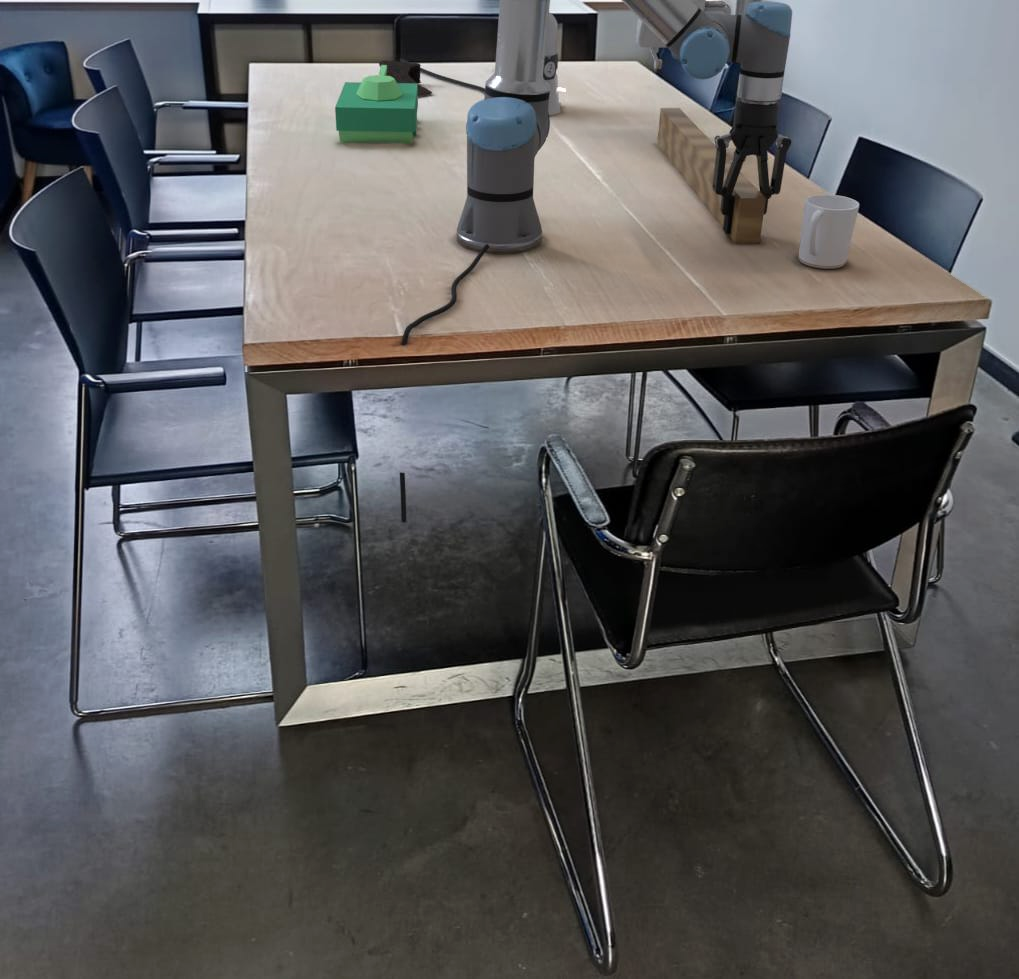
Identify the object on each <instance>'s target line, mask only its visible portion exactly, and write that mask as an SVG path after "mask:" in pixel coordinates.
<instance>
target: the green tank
mask: <svg viewBox="0 0 1019 979" xmlns="http://www.w3.org/2000/svg"><path fill="white" fill-rule="evenodd" d="M386 73H387V65H381V68H380V67H379V72H378V74H376V75H375V74H374V75H368V76H366V77H363V78H362V80H361V82H358V81H355V82H354V81H353V82H352V81H345V82H344V84H343V86H342V88H341V92H340V93H339V96H338V99H337V101H336V104H335V107H334V112H335V128H336V129H335V130H336V131H337V132H338V137H339V142H340V143H341V144H413V142H414V139H413V138H414V137H417V129H418V108H419V97H418V84H416V83H397V82H396V81H395V79H394V78H392V77H391V76H386Z"/></svg>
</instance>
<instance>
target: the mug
mask: <svg viewBox="0 0 1019 979" xmlns="http://www.w3.org/2000/svg"><path fill="white" fill-rule="evenodd" d="M859 209H860V203H859V201H857V200H855V199H853V198H850V197H847V196H843V195H837V194H829V193H828V194H827V193H825V194H823V193H822V194H821V193H819V194H813V195H809V196H806V197H805V198H804V205H803V214H802V221H801V222H802V223H801V232H800V240H799V241H800V242H799V249H798V261H799V262H801V263H802V264H804V265H806V266H808V267H812V268H816V269H825V270H828V269H829V270H831V269H833V270H834V269H839V268H842V267H844V266H845V265H846V263H847V259H848V255H849V251H850V247H851V242H852V239H853V234H854V231H855V225H856V221H857V218H858V213H859Z"/></svg>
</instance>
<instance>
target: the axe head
mask: <svg viewBox="0 0 1019 979" xmlns="http://www.w3.org/2000/svg"><path fill="white" fill-rule="evenodd" d="M381 65H387V73H386V76H391V77H392V78H394V79H395V81H396V82H397V83H416V84H418V98H419V97H425V96H429V95H432V94H433V91H431V90H430V89H428V88H427V87H425V86H422V85H421V84H422V82H421V71H420V68H421V63H419V62H410V61H408V62H401V61H400V60H399V61H397V60H388V59H387V60H380V61H379V62H378V66H379V69H380V68H381Z"/></svg>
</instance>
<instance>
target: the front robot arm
mask: <svg viewBox="0 0 1019 979" xmlns="http://www.w3.org/2000/svg"><path fill="white" fill-rule="evenodd" d="M621 1H622V2H623V4H625V6H626V7H627V8H628V9H630V11H631V12H632V13H633V14H634V15H635V16H636V17H637V18H639V19H640V20H641V21H642V22H643V23H644V24H645V25H646V26H647V27H648V28H649V29H650V30H651V31H652V32H653V33H654V34H655V35H656V36H657V37H658V38H659V39H660V40H661V41H662V42H663V43H664V44H665V45H666V46H667V47H666V48H667V49H668V50H669V52H671V57H672V58H673V59H674V60H679V64H681V68H682V69H683V71H685V73H686V74H687V75H689V76H690V77H691V78H693V79H697V80H709V79H712V78H714V77H716V76H717V75H719V73H721V72H722V70H724V67H725V66H726V64H727V63H733V64H735V63H739V64H740V68H739V76H738V77H739V78H738V84H737V90H736V92H737V93H736V97H737V98H738V99H737V100H736V101H735V106H734V108H735V109H734V113H733V122H732V123H733V124H732V127H731V129H730V130H729V132H728V133H727V134H726V133H725V134H723V135H722V136H720V135H715V136H714V138H713V140H714V144H715V145H716V149H717V150H716V159H715V169H714V178H713V187H712V188H713V190H714V192H715V193H716V194H717V195H721V196H722V199H721V207H720V211H721V213H722V215H725V216H724V224H723V227H722V231H723V232H724V233H725V234H726V235H728V234H731V226H732V219H733V211H734V203H735V198H734V197H733V196H732V193H733V190H734V187H735V184H736V182H737V179H738V176H739V173H740V171H741V170H742V167H743V164H744V163H745V161H746V160H747V157H750V156H755V158H756V164H757V174H758V176H757V177H758V187H759V191H760V192H761V193H762V194H763V195H764V196H765V197H766V202H765V209H764V216H765V215H766V214H767V211H768V205H769V200H770V199H772V196H774V195H779V194H780V193H781V190H782V189H781V188H782V182H783V176H784V171H785V166H786V165H785V164H786V158H787V153H788V151H789V148H790V147H791V145H792V140H791V139H790V138H789V137H788V136H787V135H782V134H779V131H778V126H777V125H778V121H779V114H780V106H781V104H780V103H779V101H780V100H781V99H782V94H783V86H784V78H785V70H786V64H787V58H788V52H789V47H790V39H791V30H792V22H793V21H792V20H793V10H792V8H791V6H790V5H789V4H787V3H785V2H784V3H783V2H780V1H779V2H778V1H768V0H767V1H766V0H765V1H760V0H759V1H752V2H750V3H749V4H748V6H747V10H746V11H745V13H742V14H731V15H728V14H712V13H704V12H703V11H702V10H701V9H700V8H699V7H698V6H697V5H696V4H695V3H694V1H693V0H621ZM550 5H551V0H499V8H498V9H499V12H498V24H497V35H496V36H497V38H496V53H495V63H494V64H495V65H494V73H493V74H492V75H491V76H489V78H488V79H487V80H485V83H484V84H485V86H484V88H485V92H484V98H483V99H484V101H481V100H479V101H477V102H475V103H474V104H473V105H472V106H471V107H470V108H469V109H468V111H467V119H466V123H465V130H466V131H465V132H466V192H467V193H466V198H465V202H464V205H463V209H462V211H461V214H460V218H459V220H458V224H457V227H456V241H457V243H458V244H459V245H461V246H462V247H464V248H466V249H468V250H470V251H475V252H478V253H477V255H476V256H475V258H474V259H473V261H472V262H471V264H469V266H468V267H467V268H466V269H465V270H464V271H463V272H461V273H460V274H459V275H458V276H457V277H456V278H455V279H454V281H453V282H452V284H451V289H450V291H451V299H450V301H449V302H447V303H446V304H445V305H443V306H441V307H439V308H438V309H434V310H433V311H430V312H428V313H425V314H424V315H422V316H420V317H418V318H417V319H415V320H414V321H413V322H411V323H409V324H408V325H407V326H406V327H405V329H404V330H403V331H404V332H403V335H402V337H401V342H400V345H401V346H406V345H407V343H408V339H409V336H410V334H411V331H412V330H413V329H414V328H417V327H418V326H419V325H421V324H423V323H424V322H425V321H427V320H429V319H432V318H434V317H436V316H439V315H441V314H443V313H445V312H447V311H448V310H450V309H451V308H452V307H453V306H454V305H455V303H456V302H457V299H458V298H457V295H458V294H457V287H458V285H459V283H460V282H461V281H462V280H464V278H465V277H467V276H468V275H469V274H470V273H471V272H472V271H473V270H474V268H476V266H477V265H478V263H479V262H480V260H481V259H482V257H483V256H484V255H485V253H486V254H497V255H499V254H500V255H506V254H507V255H508V254H517V253H524V252H527V251H530V250H533V249H536V248H538V247H539V246H540V245H541V244H542V243H543V229H542V224H541V221H540V220H541V219H540V218H539V214H538V213H539V212H538V210H537V206H536V204H535V199H534V184H535V181H534V180H535V158H536V156H537V154H538V152H539V151H540V150H541V149H542V147H543V146H544V144H545V143H546V141H547V138H548V136H549V133H550V128H551V119H550V116H551V115H549V112H548V106H549V95H550V86H549V85H548V84H547V83H546V81H545V80H544V78H543V70H544V59H545V49H546V38H547V28H548V17H549V12H550ZM730 142H732V144H733V146H734V147H735V149H734V152H733V158H732V161H731V162H732V163H731V166H730V169H729V172H728V174H727V177H726V180H725V183H724V186H723V181H724V172H725V163H726V157H727V149H728V148H729V147H730ZM774 143H775V147H776V148H775V152H774V158H773V165H772V171H771V178H770V177H769V176H770V175H769V163H768V161H769V156H768V154H769V153H768V151H769V149H770V148H771V147H772V145H773V144H774ZM399 490H400V518H401V519H400V521H401V523H403V524H404V523H407V496H406V495H407V494H406V493H407V492H406V473H405V472H401V471H399Z"/></svg>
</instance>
